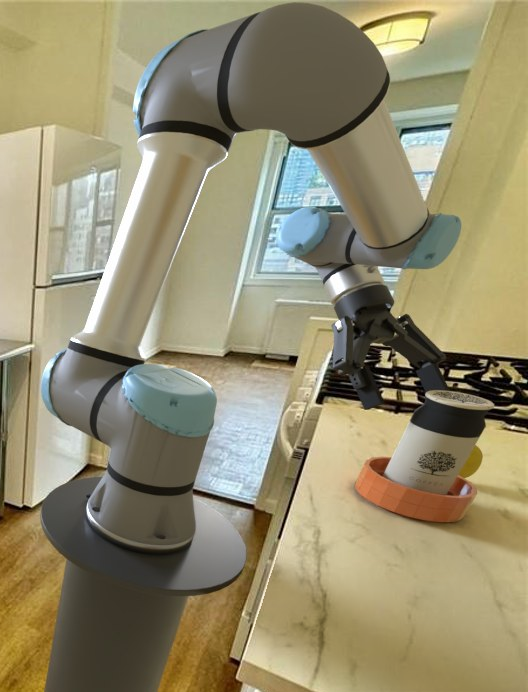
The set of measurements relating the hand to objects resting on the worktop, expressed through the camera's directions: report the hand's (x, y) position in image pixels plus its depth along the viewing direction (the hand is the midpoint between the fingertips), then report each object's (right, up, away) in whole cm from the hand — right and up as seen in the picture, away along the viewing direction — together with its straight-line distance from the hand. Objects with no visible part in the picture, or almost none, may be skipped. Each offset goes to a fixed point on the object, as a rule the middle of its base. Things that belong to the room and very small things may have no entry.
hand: (409, 404), depth 80 cm
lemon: (+15, -13, +8) cm, 22 cm away
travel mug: (+1, -16, +1) cm, 16 cm away
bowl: (+1, -16, +2) cm, 16 cm away
